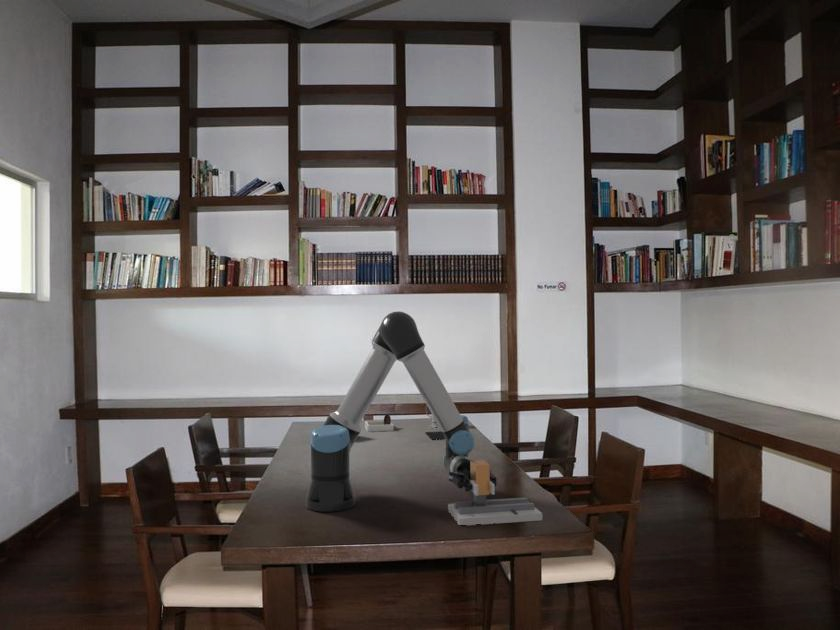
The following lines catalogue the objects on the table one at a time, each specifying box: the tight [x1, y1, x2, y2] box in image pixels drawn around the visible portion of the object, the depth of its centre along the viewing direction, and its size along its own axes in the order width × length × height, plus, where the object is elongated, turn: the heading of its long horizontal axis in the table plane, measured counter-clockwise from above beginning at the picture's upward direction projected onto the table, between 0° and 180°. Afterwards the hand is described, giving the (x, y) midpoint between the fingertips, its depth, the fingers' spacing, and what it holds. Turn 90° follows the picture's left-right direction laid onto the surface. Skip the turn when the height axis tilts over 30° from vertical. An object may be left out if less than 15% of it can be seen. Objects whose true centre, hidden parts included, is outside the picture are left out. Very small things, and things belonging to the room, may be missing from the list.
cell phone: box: [424, 430, 446, 441], centre depth 307 cm, size 9×18×1 cm, turn 11°
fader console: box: [447, 497, 543, 526], centre depth 187 cm, size 24×14×4 cm, turn 100°
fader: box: [470, 459, 491, 506], centre depth 186 cm, size 4×6×13 cm
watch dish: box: [364, 420, 395, 433], centre depth 327 cm, size 13×13×3 cm
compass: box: [383, 413, 392, 425], centre depth 326 cm, size 8×8×7 cm
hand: (485, 490), depth 181 cm, fingers closed on fader, 4 cm apart
